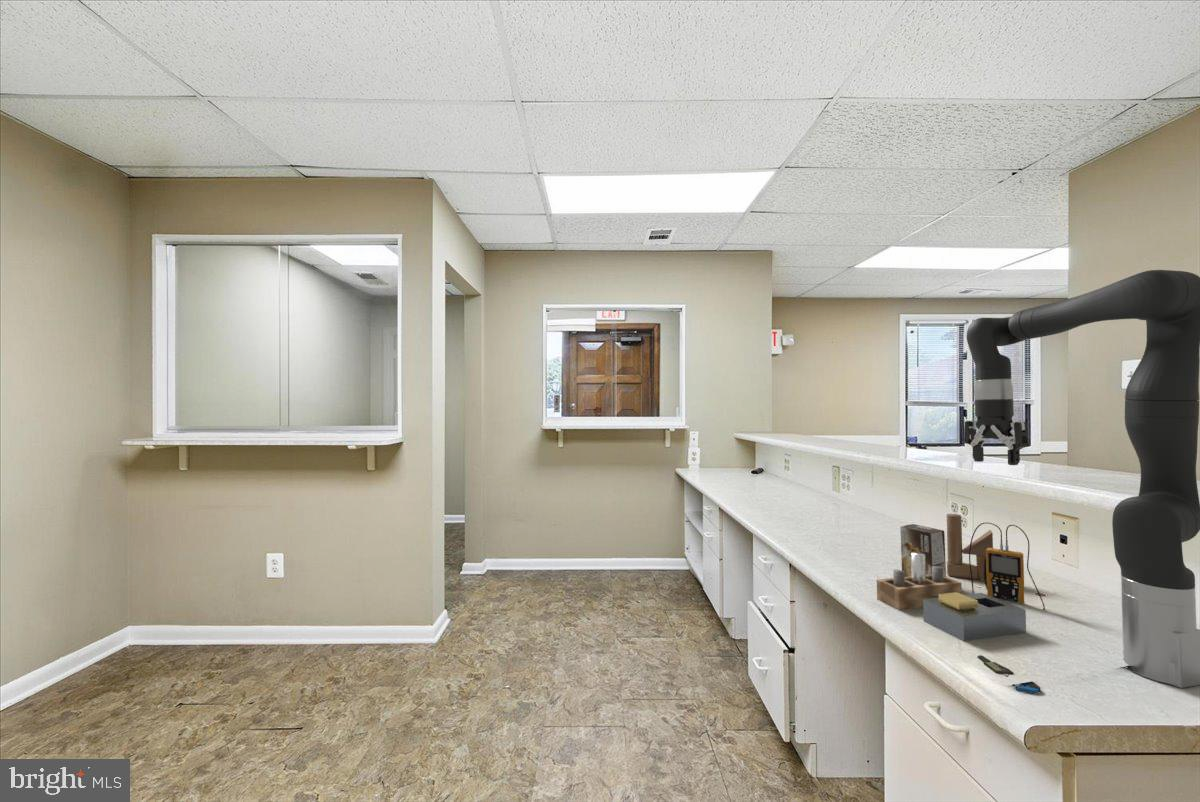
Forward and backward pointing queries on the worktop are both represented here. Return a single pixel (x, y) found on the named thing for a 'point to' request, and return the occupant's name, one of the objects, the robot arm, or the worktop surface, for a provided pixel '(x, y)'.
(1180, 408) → the robot arm
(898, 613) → the worktop surface
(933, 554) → the coffee box
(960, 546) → the wooden block
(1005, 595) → the multimeter
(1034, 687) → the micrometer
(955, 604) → the yellow square-headed peg
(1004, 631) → the tool block
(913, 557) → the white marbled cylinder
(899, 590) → the bit rack
